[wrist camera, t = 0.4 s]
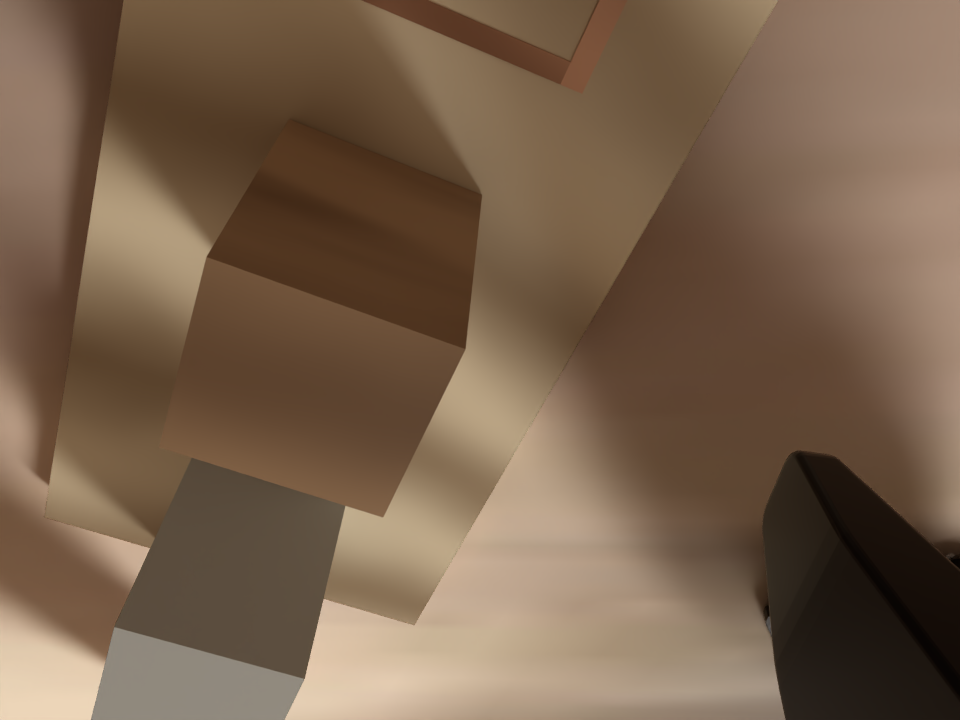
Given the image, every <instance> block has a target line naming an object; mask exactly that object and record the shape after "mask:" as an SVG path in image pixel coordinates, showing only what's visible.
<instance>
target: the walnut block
mask: <svg viewBox="0 0 960 720" xmlns="http://www.w3.org/2000/svg"><path fill="white" fill-rule="evenodd" d="M481 202H482V194H479V193H476V192H474V191H471V190H469V189H466V188H464V187H461V186H459V185H456V184H454V183H451V182H448V181H446V180H443V179H441V178H438V177H436V176H433V175H431V174H428V173H426V172H423V171H420V170H418V169H415V168H413V167H410V166H408V165H405V164H403V163H400V162H397V161H395V160H392V159H390V158H387V157H385V156H382V155H380V154H377V153H375V152H372V151H369V150H367V149H364V148H362V147H359V146H357V145H354V144H352V143H349V142H346V141H344V140H341V139H339V138H336V137H334V136H331V135H329V134H326V133H324V132H321V131H318V130H316V129H313V128H311V127H308V126H306V125H303V124H301V123H298V122H295V121H293V120H290V119H289V120H288V122H287V123H286V125H285V127H284V128H283V130H282V132H281V133H280V135H279V137H278V138H277V140H276V142H275V143H274V145H273V147H272V148H271V150H270V152H269V153H268V155H267V157H266V158H265V160H264V162H263V163H262V165H261V167H260V168H259V170H258V172H257V173H256V175H255V177H254V178H253V180H252V182H251V183H250V185H249V187H248V188H247V190H246V192H245V193H244V195H243V197H242V198H241V200H240V202H239V203H238V205H237V207H236V208H235V210H234V212H233V213H232V215H231V217H230V218H229V220H228V222H227V223H226V225H225V227H224V228H223V230H222V232H221V233H220V235H219V237H218V238H217V240H216V242H215V243H214V245H213V247H212V248H211V250H210V252H209V253H208V255H207V257H206V260H205V264H204V268H203V272H202V276H201V280H200V284H199V288H198V292H197V296H196V300H195V304H194V308H193V312H192V316H191V320H190V324H189V328H188V332H187V336H186V340H185V344H184V348H183V352H182V356H181V360H180V364H179V368H178V372H177V376H176V380H175V384H174V388H173V392H172V396H171V400H170V404H169V409H168V413H167V417H166V421H165V425H164V429H163V433H162V437H161V441H160V445H159V448H163V449H166V450H169V451H172V452H175V453H178V454H182V455H185V456H188V457H191V458H194V459H198V460H201V461H204V462H207V463H210V464H214V465H217V466H220V467H223V468H226V469H230V470H233V471H236V472H239V473H242V474H246V475H249V476H252V477H255V478H258V479H261V480H265V481H268V482H271V483H274V484H277V485H281V486H284V487H287V488H290V489H293V490H297V491H300V492H303V493H306V494H309V495H313V496H316V497H319V498H322V499H325V500H329V501H332V502H335V503H338V504H341V505H344V506H348V507H351V508H354V509H357V510H360V511H364V512H367V513H370V514H373V515H376V516H380V517H384V515H385V513H386V511H387V509H388V507H389V505H390V503H391V501H392V499H393V497H394V495H395V492H396V490H397V488H398V486H399V484H400V482H401V480H402V478H403V476H404V474H405V472H406V470H407V468H408V466H409V464H410V462H411V460H412V458H413V456H414V454H415V452H416V450H417V448H418V445H419V443H420V441H421V439H422V437H423V435H424V433H425V431H426V429H427V427H428V425H429V423H430V421H431V419H432V417H433V415H434V413H435V411H436V409H437V407H438V405H439V403H440V401H441V399H442V396H443V394H444V392H445V390H446V388H447V386H448V384H449V382H450V380H451V378H452V376H453V374H454V372H455V370H456V368H457V366H458V364H459V362H460V360H461V358H462V356H463V354H464V352H465V349H466V341H467V331H468V322H469V313H470V304H471V294H472V285H473V276H474V267H475V257H476V248H477V239H478V229H479V220H480V211H481Z"/></svg>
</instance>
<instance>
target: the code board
mask: <svg viewBox="0 0 960 720" xmlns="http://www.w3.org/2000/svg"><path fill="white" fill-rule="evenodd" d="M777 2H778V0H124V1H123V7H122V14H121V20H120V27H119V33H118V40H117V46H116V53H115V59H114V66H113V72H112V79H111V85H110V92H109V98H108V105H107V111H106V118H105V124H104V131H103V138H102V144H101V151H100V157H99V164H98V170H97V177H96V183H95V190H94V196H93V203H92V209H91V216H90V222H89V229H88V235H87V242H86V248H85V255H84V261H83V268H82V274H81V281H80V287H79V294H78V300H77V307H76V313H75V320H74V327H73V333H72V340H71V346H70V353H69V359H68V366H67V372H66V379H65V385H64V392H63V398H62V405H61V411H60V418H59V424H58V431H57V437H56V444H55V450H54V457H53V463H52V470H51V476H50V483H49V489H48V496H47V502H46V509H45V516H44V517H45V518H48V519H52V520H55V521H59V522H62V523H66V524H69V525H72V526H76V527H79V528H83V529H86V530H90V531H93V532H96V533H100V534H103V535H107V536H110V537H114V538H117V539H120V540H124V541H127V542H131V543H134V544H138V545H141V546H144V547H148V548H151V546H152V543H153V541H154V539H155V537H156V535H157V533H158V530H159V528H160V526H161V524H162V522H163V519H164V517H165V515H166V513H167V511H168V509H169V506H170V504H171V502H172V500H173V498H174V495H175V493H176V491H177V489H178V487H179V485H180V482H181V480H182V478H183V476H184V474H185V471H186V469H187V467H188V465H189V463H190V461H191V457H188V456H185V455H182V454H178V453H175V452H172V451H169V450H166V449H163V448H159V445H160V441H161V437H162V433H163V429H164V425H165V421H166V417H167V413H168V409H169V404H170V400H171V396H172V392H173V388H174V384H175V380H176V376H177V372H178V368H179V364H180V360H181V356H182V352H183V348H184V344H185V340H186V336H187V332H188V328H189V324H190V320H191V316H192V312H193V308H194V304H195V300H196V296H197V292H198V288H199V284H200V280H201V276H202V272H203V268H204V264H205V260H206V257H207V255H208V253H209V252H210V250H211V248H212V247H213V245H214V243H215V242H216V240H217V238H218V237H219V235H220V233H221V232H222V230H223V228H224V227H225V225H226V223H227V222H228V220H229V218H230V217H231V215H232V213H233V212H234V210H235V208H236V207H237V205H238V203H239V202H240V200H241V198H242V197H243V195H244V193H245V192H246V190H247V188H248V187H249V185H250V183H251V182H252V180H253V178H254V177H255V175H256V173H257V172H258V170H259V168H260V167H261V165H262V163H263V162H264V160H265V158H266V157H267V155H268V153H269V152H270V150H271V148H272V147H273V145H274V143H275V142H276V140H277V138H278V137H279V135H280V133H281V132H282V130H283V128H284V127H285V125H286V123H287V122H288V120H289V119H290V120H293V121H295V122H298V123H301V124H303V125H306V126H308V127H311V128H313V129H316V130H318V131H321V132H324V133H326V134H329V135H331V136H334V137H336V138H339V139H341V140H344V141H346V142H349V143H352V144H354V145H357V146H359V147H362V148H364V149H367V150H369V151H372V152H375V153H377V154H380V155H382V156H385V157H387V158H390V159H392V160H395V161H397V162H400V163H403V164H405V165H408V166H410V167H413V168H415V169H418V170H420V171H423V172H426V173H428V174H431V175H433V176H436V177H438V178H441V179H443V180H446V181H448V182H451V183H454V184H456V185H459V186H461V187H464V188H466V189H469V190H471V191H474V192H476V193H479V194H482V202H481V211H480V220H479V229H478V239H477V248H476V257H475V267H474V276H473V285H472V294H471V304H470V313H469V322H468V331H467V341H466V349H465V352H464V354H463V356H462V358H461V360H460V362H459V364H458V366H457V368H456V370H455V372H454V374H453V376H452V378H451V380H450V382H449V384H448V386H447V388H446V390H445V392H444V394H443V396H442V399H441V401H440V403H439V405H438V407H437V409H436V411H435V413H434V415H433V417H432V419H431V421H430V423H429V425H428V427H427V429H426V431H425V433H424V435H423V437H422V439H421V441H420V443H419V445H418V448H417V450H416V452H415V454H414V456H413V458H412V460H411V462H410V464H409V466H408V468H407V470H406V472H405V474H404V476H403V478H402V480H401V482H400V484H399V486H398V488H397V490H396V492H395V495H394V497H393V499H392V501H391V503H390V505H389V507H388V509H387V511H386V513H385V515H384V517H380V516H376V515H373V514H370V513H367V512H364V511H360V510H357V509H354V508H351V507H348V506H345V510H344V514H343V519H342V523H341V527H340V531H339V536H338V540H337V544H336V548H335V552H334V557H333V561H332V565H331V569H330V573H329V578H328V582H327V586H326V590H325V594H324V599H326V600H330V601H333V602H336V603H340V604H343V605H347V606H350V607H354V608H357V609H360V610H364V611H367V612H371V613H374V614H378V615H381V616H384V617H388V618H391V619H395V620H398V621H402V622H405V623H408V624H412V625H415V623H416V621H417V620H418V618H419V616H420V614H421V613H422V611H423V609H424V608H425V606H426V604H427V602H428V601H429V599H430V597H431V596H432V594H433V592H434V590H435V589H436V587H437V585H438V584H439V582H440V580H441V578H442V577H443V575H444V573H445V572H446V570H447V568H448V566H449V565H450V563H451V561H452V560H453V558H454V556H455V554H456V553H457V551H458V549H459V548H460V546H461V544H462V542H463V541H464V539H465V537H466V535H467V534H468V532H469V530H470V529H471V527H472V525H473V523H474V522H475V520H476V518H477V517H478V515H479V513H480V511H481V510H482V508H483V506H484V505H485V503H486V501H487V499H488V498H489V496H490V494H491V493H492V491H493V489H494V487H495V486H496V484H497V482H498V481H499V479H500V477H501V475H502V474H503V472H504V470H505V469H506V467H507V465H508V463H509V462H510V460H511V458H512V457H513V455H514V453H515V451H516V450H517V448H518V446H519V445H520V443H521V441H522V439H523V438H524V436H525V434H526V432H527V431H528V429H529V427H530V426H531V424H532V422H533V420H534V419H535V417H536V415H537V414H538V412H539V410H540V408H541V407H542V405H543V403H544V402H545V400H546V398H547V396H548V395H549V393H550V391H551V390H552V388H553V386H554V384H555V383H556V381H557V379H558V378H559V376H560V374H561V372H562V371H563V369H564V367H565V366H566V364H567V362H568V360H569V359H570V357H571V355H572V354H573V352H574V350H575V348H576V347H577V345H578V343H579V341H580V340H581V338H582V336H583V335H584V333H585V331H586V329H587V328H588V326H589V324H590V323H591V321H592V319H593V317H594V316H595V314H596V312H597V311H598V309H599V307H600V305H601V304H602V302H603V300H604V299H605V297H606V295H607V293H608V292H609V290H610V288H611V287H612V285H613V283H614V281H615V280H616V278H617V276H618V275H619V273H620V271H621V269H622V268H623V266H624V264H625V263H626V261H627V259H628V257H629V256H630V254H631V252H632V251H633V249H634V247H635V245H636V244H637V242H638V240H639V238H640V237H641V235H642V233H643V232H644V230H645V228H646V226H647V225H648V223H649V221H650V220H651V218H652V216H653V214H654V213H655V211H656V209H657V208H658V206H659V204H660V202H661V201H662V199H663V197H664V196H665V194H666V192H667V190H668V189H669V187H670V185H671V184H672V182H673V180H674V178H675V177H676V175H677V173H678V172H679V170H680V168H681V166H682V165H683V163H684V161H685V160H686V158H687V156H688V154H689V153H690V151H691V149H692V148H693V146H694V144H695V142H696V141H697V139H698V137H699V135H700V134H701V132H702V130H703V129H704V127H705V125H706V123H707V122H708V120H709V118H710V117H711V115H712V113H713V111H714V110H715V108H716V106H717V105H718V103H719V101H720V99H721V98H722V96H723V94H724V93H725V91H726V89H727V87H728V86H729V84H730V82H731V81H732V79H733V77H734V75H735V74H736V72H737V70H738V69H739V67H740V65H741V63H742V62H743V60H744V58H745V57H746V55H747V53H748V51H749V50H750V48H751V46H752V45H753V43H754V41H755V39H756V38H757V36H758V34H759V32H760V31H761V29H762V27H763V26H764V24H765V22H766V20H767V19H768V17H769V15H770V14H771V12H772V10H773V8H774V7H775V5H776V3H777Z"/></svg>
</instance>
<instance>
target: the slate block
mask: <svg viewBox="0 0 960 720" xmlns="http://www.w3.org/2000/svg"><path fill="white" fill-rule="evenodd" d="M344 510H345V506H344V505H341V504H338V503H335V502H332V501H329V500H325V499H322V498H319V497H316V496H313V495H309V494H306V493H303V492H300V491H297V490H293V489H290V488H287V487H284V486H281V485H277V484H274V483H271V482H268V481H265V480H261V479H258V478H255V477H252V476H249V475H246V474H242V473H239V472H236V471H233V470H230V469H226V468H223V467H220V466H217V465H214V464H210V463H207V462H204V461H201V460H198V459H194V458H191V461H190V463H189V465H188V467H187V469H186V471H185V474H184V476H183V478H182V480H181V482H180V485H179V487H178V489H177V491H176V493H175V495H174V498H173V500H172V502H171V504H170V506H169V509H168V511H167V513H166V515H165V517H164V519H163V522H162V524H161V526H160V528H159V530H158V533H157V535H156V537H155V539H154V541H153V543H152V546H151V548H150V550H149V552H148V554H147V557H146V559H145V561H144V563H143V565H142V567H141V570H140V572H139V574H138V576H137V578H136V581H135V583H134V585H133V587H132V589H131V591H130V594H129V596H128V598H127V600H126V602H125V605H124V607H123V609H122V611H121V613H120V615H119V618H118V620H117V622H116V624H115V626H114V630H113V634H112V638H111V642H110V646H109V650H108V654H107V658H106V662H105V666H104V670H103V674H102V678H101V682H100V686H99V690H98V694H97V698H96V702H95V706H94V710H93V714H92V718H91V720H285V718H286V716H287V714H288V712H289V709H290V707H291V705H292V703H293V701H294V699H295V697H296V695H297V693H298V691H299V689H300V687H301V685H302V683H303V681H304V679H305V675H306V670H307V666H308V662H309V658H310V653H311V649H312V645H313V641H314V637H315V632H316V628H317V624H318V620H319V616H320V611H321V607H322V603H323V599H324V594H325V590H326V586H327V582H328V578H329V573H330V569H331V565H332V561H333V557H334V552H335V548H336V544H337V540H338V536H339V531H340V527H341V523H342V519H343V514H344Z"/></svg>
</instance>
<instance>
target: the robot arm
mask: <svg viewBox="0 0 960 720" xmlns="http://www.w3.org/2000/svg"><path fill="white" fill-rule="evenodd" d="M762 531H763V543H764V554H765V566H766V577H767V589H768V600H769V605H768V606H767V607H765V609H764V617H765V621H766V625H767V627H768V630H769V632H770V634H771V637H772V645H773V654H774V662H775V669H776V674H777V680H778V685H779V691H780V695H781V700H782V705H783V710H784V715H785V719H786V720H960V559H956V560H951V561H950V560H949V559H948V558H947V557H945V556H944V555H943V554H942V553H941V552H940V551H939V550H938V549H937V548H936V547H934V546H933V545H932V544H931V543H930V542H929V541H928V540H927V539H926V538H925V537H923V536H922V535H921V534H920V533H919V532H918V531H917V530H916V529H915V528H914V527H913V526H911V525H910V524H909V523H908V522H907V521H906V520H905V519H904V518H903V517H902V516H900V515H899V514H898V513H897V512H896V511H895V510H894V509H893V508H892V507H891V506H889V505H888V504H887V503H886V502H885V501H884V500H883V499H882V498H881V497H880V496H878V495H877V494H876V493H875V492H874V491H873V490H872V489H871V488H870V487H869V486H868V485H866V484H865V483H864V482H863V481H862V480H861V479H860V478H859V477H858V476H857V475H855V474H854V473H853V472H852V471H851V470H850V469H849V468H848V467H847V466H846V465H844V464H843V463H842V462H841V461H840V460H839V459H837V458H836V457H834V456H832V455H828V454H821V453H814V452H807V451H796V452H793V453H791V454H790V455H789V457H788V458H787V459H786V461H785V463H784V466H783V468H782V470H781V473H780V475H779V477H778V479H777V482H776V484H775V486H774V489H773V491H772V493H771V496H770V498H769V500H768V503H767V505H766V508H765V511H764V515H763V525H762Z"/></svg>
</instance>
